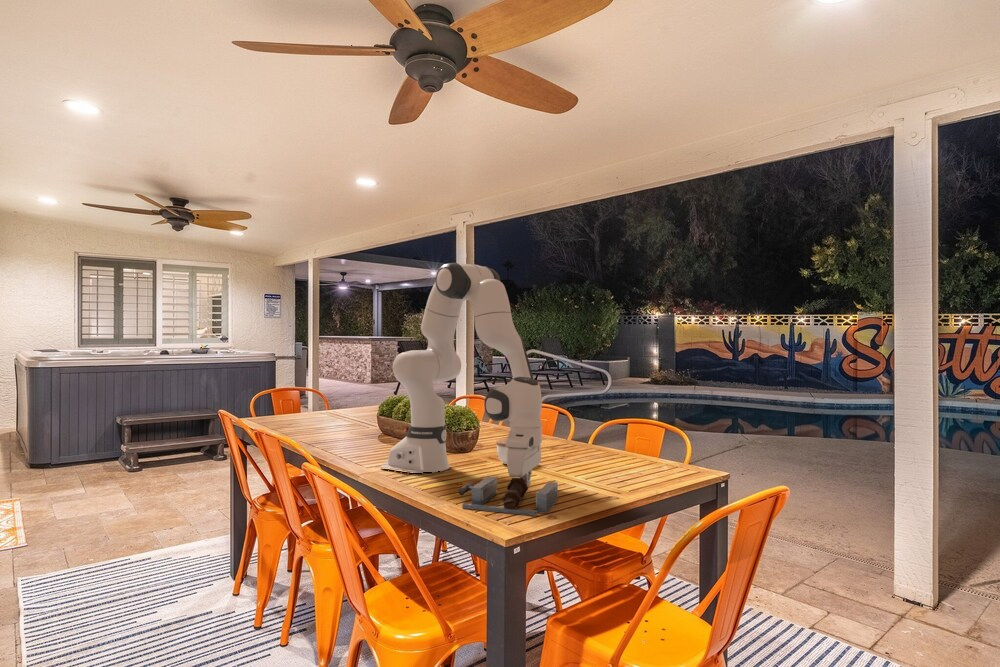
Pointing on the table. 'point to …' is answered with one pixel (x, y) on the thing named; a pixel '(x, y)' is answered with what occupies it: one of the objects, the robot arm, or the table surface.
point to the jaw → (481, 490)
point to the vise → (543, 502)
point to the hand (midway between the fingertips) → (525, 486)
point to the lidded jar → (502, 450)
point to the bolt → (514, 493)
